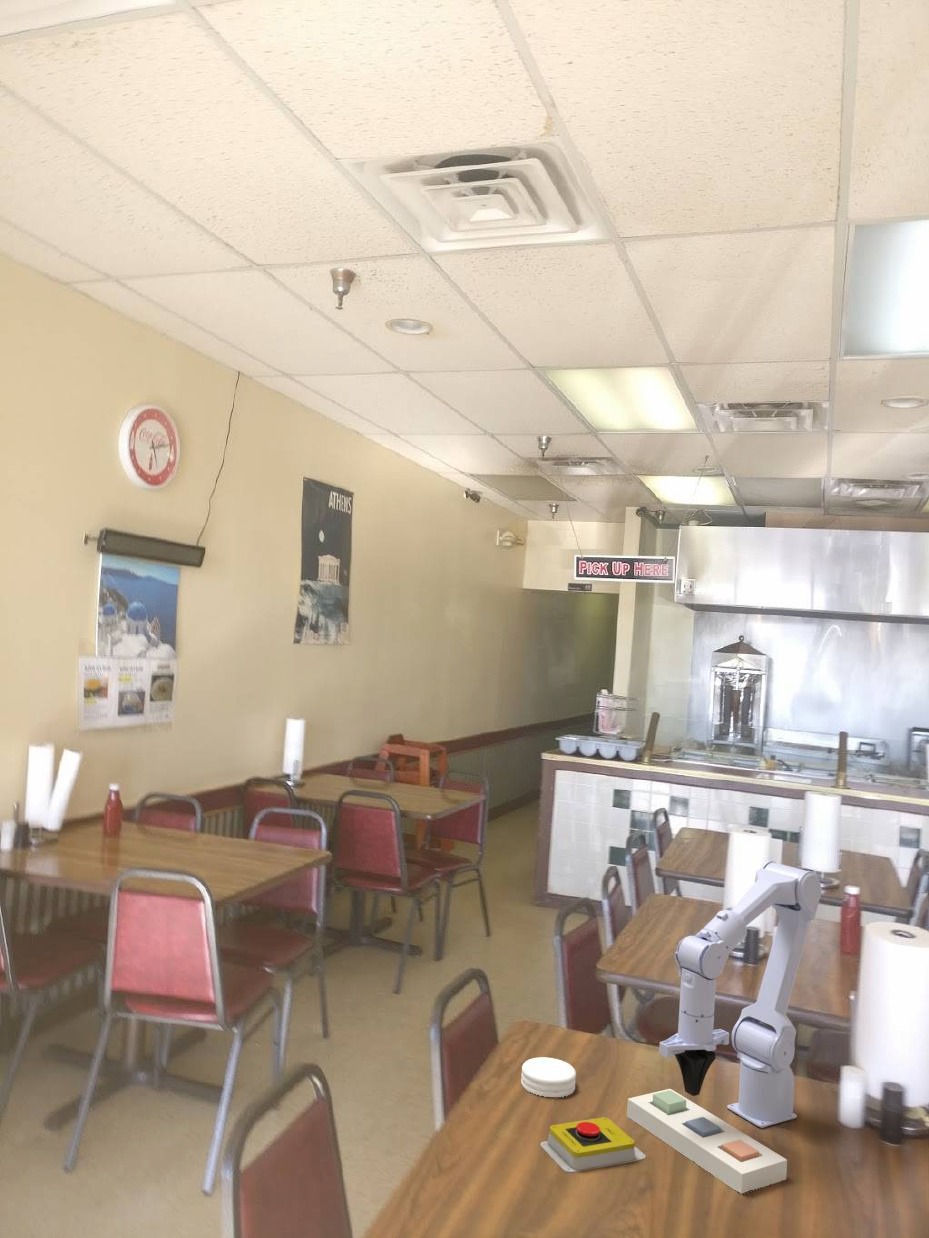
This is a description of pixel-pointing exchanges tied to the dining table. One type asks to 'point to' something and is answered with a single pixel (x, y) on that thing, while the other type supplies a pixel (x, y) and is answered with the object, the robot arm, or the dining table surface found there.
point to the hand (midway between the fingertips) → (691, 1092)
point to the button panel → (709, 1144)
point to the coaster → (548, 1077)
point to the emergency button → (590, 1145)
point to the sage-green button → (669, 1102)
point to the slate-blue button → (703, 1127)
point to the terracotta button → (740, 1150)
